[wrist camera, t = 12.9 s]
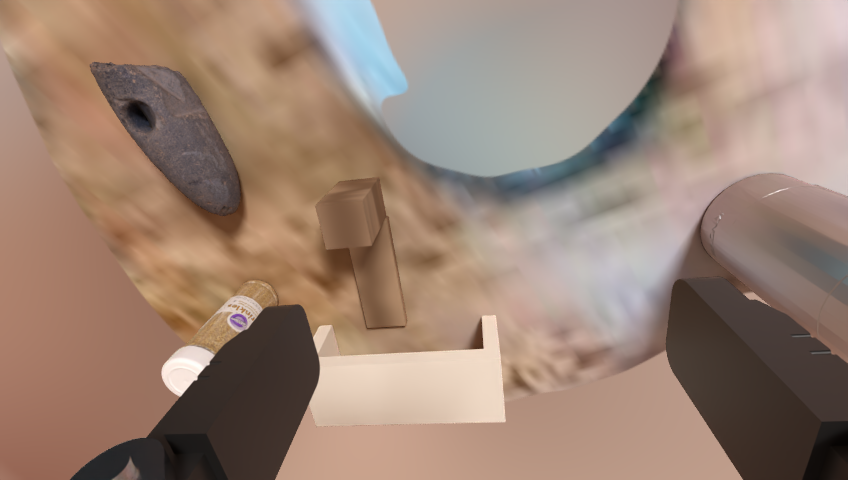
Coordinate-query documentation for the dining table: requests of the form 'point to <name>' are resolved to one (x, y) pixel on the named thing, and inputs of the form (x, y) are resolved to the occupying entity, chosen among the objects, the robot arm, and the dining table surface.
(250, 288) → the sprinkles bottle
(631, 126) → the dining table surface
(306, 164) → the dining table surface
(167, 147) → the perforated stone tool
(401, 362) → the shelf
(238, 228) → the dining table surface
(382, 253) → the brown l-shaped block
